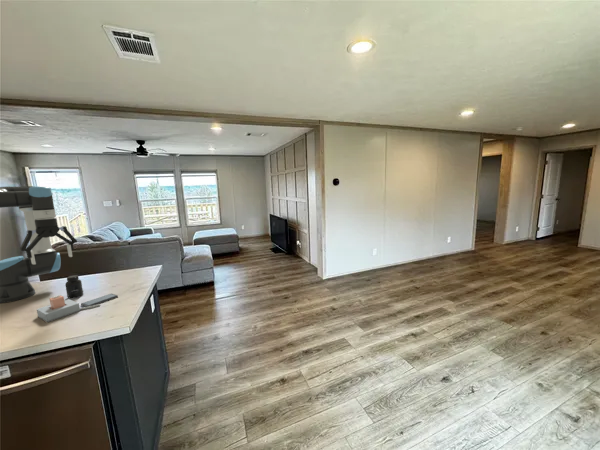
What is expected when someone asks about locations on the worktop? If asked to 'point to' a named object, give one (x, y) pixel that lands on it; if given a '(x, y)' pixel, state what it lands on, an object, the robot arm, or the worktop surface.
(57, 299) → the block
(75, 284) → the supplement bottle
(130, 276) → the worktop surface
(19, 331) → the worktop surface
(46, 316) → the outlet plate
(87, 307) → the cable
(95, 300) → the phone
